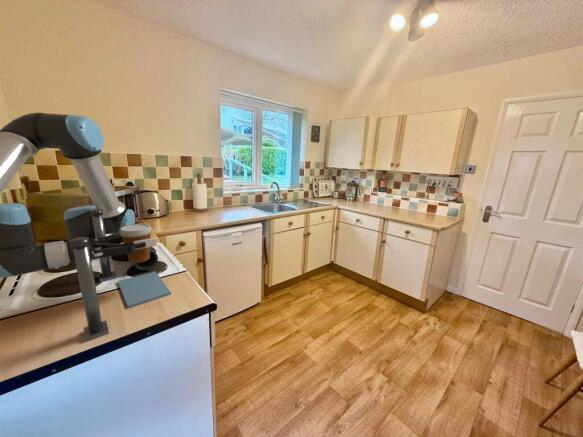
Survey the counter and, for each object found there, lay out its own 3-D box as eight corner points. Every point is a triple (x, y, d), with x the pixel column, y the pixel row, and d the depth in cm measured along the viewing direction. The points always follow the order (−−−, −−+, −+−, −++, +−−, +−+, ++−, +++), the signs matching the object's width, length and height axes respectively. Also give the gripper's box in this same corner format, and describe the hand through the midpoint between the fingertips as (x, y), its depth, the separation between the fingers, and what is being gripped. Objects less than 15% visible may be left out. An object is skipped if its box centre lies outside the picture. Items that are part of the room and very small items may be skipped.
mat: (118, 282, 90) (117, 281, 90) (155, 273, 99) (155, 271, 99) (128, 308, 76) (127, 306, 76) (171, 294, 85) (170, 292, 85)
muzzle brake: (133, 275, 97) (130, 251, 94) (126, 252, 118) (124, 232, 115) (159, 269, 103) (157, 247, 100) (148, 248, 123) (146, 229, 121)
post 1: (84, 331, 66) (65, 238, 59) (106, 323, 69) (91, 234, 62) (85, 341, 62) (65, 244, 55) (109, 333, 66) (92, 240, 59)
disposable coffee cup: (131, 267, 78) (127, 233, 75) (118, 260, 83) (113, 227, 80) (160, 258, 86) (157, 227, 83) (146, 251, 91) (143, 221, 88)
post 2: (98, 277, 94) (87, 209, 87) (114, 273, 97) (104, 208, 90) (100, 282, 90) (88, 212, 83) (116, 278, 94) (105, 210, 87)
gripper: (69, 252, 79) (146, 239, 94) (70, 277, 64) (161, 257, 80) (65, 231, 77) (144, 221, 92) (65, 252, 63) (159, 236, 78)
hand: (152, 238), depth 86 cm, fingers closed on disposable coffee cup, 8 cm apart
